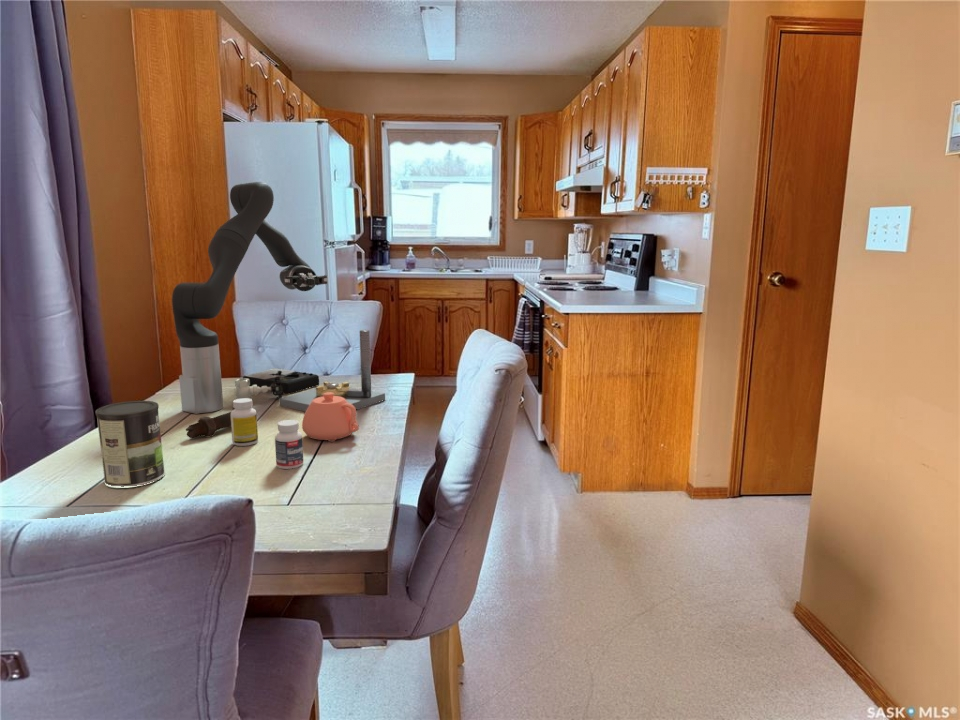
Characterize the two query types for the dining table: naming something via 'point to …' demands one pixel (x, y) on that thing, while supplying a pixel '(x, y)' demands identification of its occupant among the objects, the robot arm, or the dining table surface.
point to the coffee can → (130, 443)
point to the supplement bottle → (244, 423)
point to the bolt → (209, 425)
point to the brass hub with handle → (365, 390)
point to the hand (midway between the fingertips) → (310, 282)
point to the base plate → (305, 398)
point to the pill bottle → (289, 445)
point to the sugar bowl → (329, 418)
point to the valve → (256, 388)
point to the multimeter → (284, 379)
